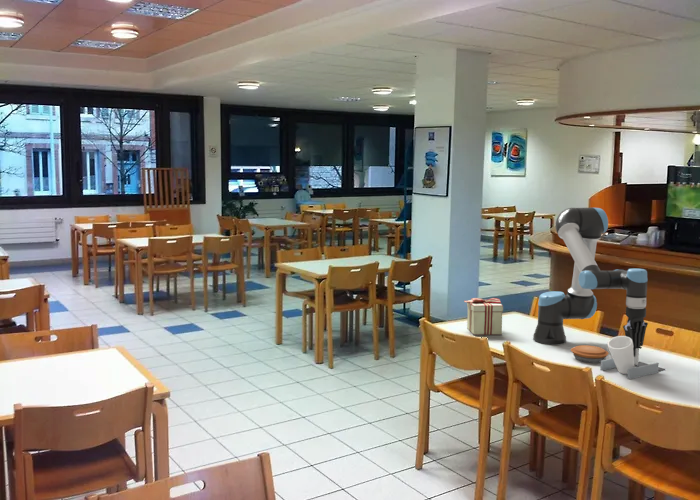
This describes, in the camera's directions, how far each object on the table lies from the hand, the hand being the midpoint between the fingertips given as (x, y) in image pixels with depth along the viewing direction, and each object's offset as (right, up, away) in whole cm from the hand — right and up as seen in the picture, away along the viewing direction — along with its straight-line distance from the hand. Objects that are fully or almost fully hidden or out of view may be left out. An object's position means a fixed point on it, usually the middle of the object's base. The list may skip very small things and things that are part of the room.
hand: (634, 363), depth 266 cm
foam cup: (-4, -2, -2) cm, 5 cm away
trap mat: (+8, -2, +6) cm, 11 cm away
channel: (-2, -3, 0) cm, 4 cm away
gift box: (-49, +5, +65) cm, 81 cm away
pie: (-12, -1, +17) cm, 21 cm away
